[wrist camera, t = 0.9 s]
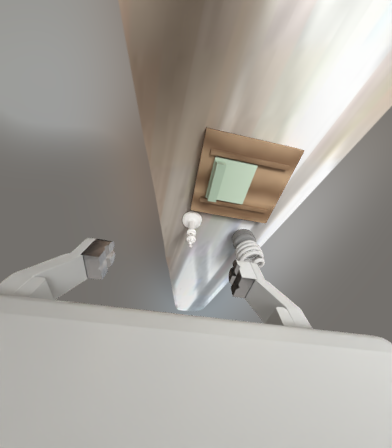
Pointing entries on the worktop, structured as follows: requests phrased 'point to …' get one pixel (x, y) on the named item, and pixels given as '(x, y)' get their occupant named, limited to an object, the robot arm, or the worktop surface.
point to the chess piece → (191, 225)
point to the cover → (230, 180)
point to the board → (262, 181)
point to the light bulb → (247, 247)
